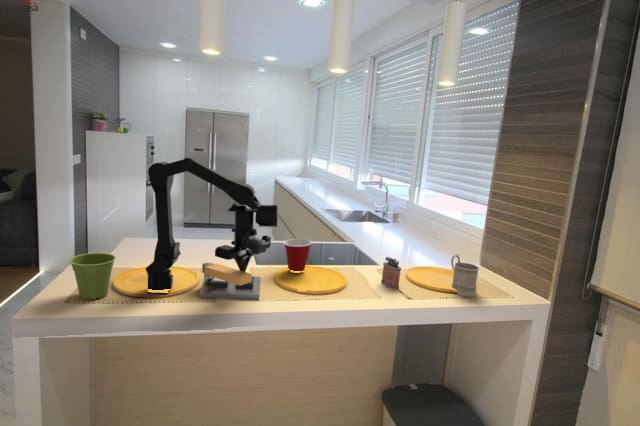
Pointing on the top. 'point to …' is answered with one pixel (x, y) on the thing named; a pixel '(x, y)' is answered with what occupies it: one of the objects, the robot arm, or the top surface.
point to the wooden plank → (226, 273)
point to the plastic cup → (297, 253)
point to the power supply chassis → (230, 288)
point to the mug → (464, 278)
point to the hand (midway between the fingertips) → (242, 273)
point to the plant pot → (93, 274)
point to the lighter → (391, 273)
